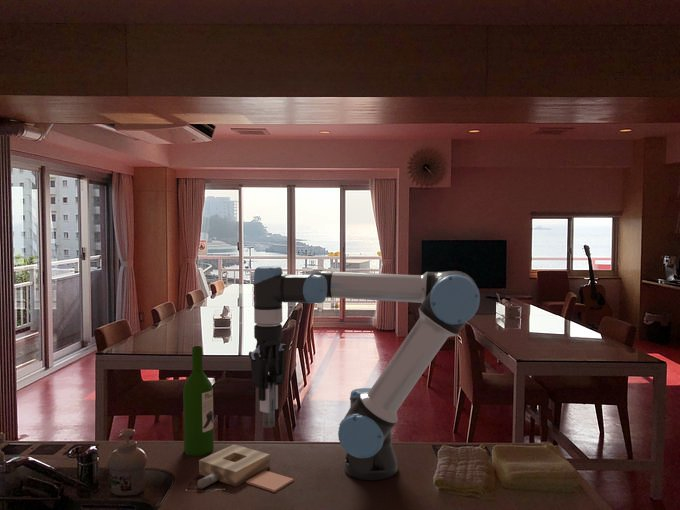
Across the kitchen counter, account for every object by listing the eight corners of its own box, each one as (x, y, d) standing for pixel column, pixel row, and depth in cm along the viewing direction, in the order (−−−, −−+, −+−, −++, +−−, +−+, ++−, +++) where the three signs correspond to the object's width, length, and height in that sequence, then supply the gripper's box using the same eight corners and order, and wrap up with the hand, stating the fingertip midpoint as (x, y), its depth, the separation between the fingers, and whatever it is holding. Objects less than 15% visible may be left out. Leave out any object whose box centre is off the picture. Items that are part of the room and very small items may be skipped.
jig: (269, 467, 165) (269, 454, 165) (219, 495, 148) (219, 480, 148) (234, 457, 173) (233, 444, 172) (182, 482, 156) (182, 467, 156)
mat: (293, 481, 156) (293, 478, 156) (274, 492, 150) (274, 490, 150) (265, 472, 162) (265, 470, 162) (246, 483, 155) (246, 481, 155)
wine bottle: (204, 457, 173) (202, 350, 171) (178, 454, 175) (176, 349, 173) (218, 446, 181) (217, 344, 179) (193, 443, 184) (191, 343, 182)
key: (262, 421, 158) (261, 370, 158) (283, 427, 154) (283, 374, 153) (254, 424, 156) (254, 372, 155) (276, 430, 152) (275, 376, 151)
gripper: (276, 318, 162) (277, 399, 164) (237, 327, 149) (238, 415, 150) (297, 320, 158) (298, 404, 159) (259, 329, 145) (259, 420, 146)
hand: (268, 409), depth 155 cm, fingers closed on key, 3 cm apart
